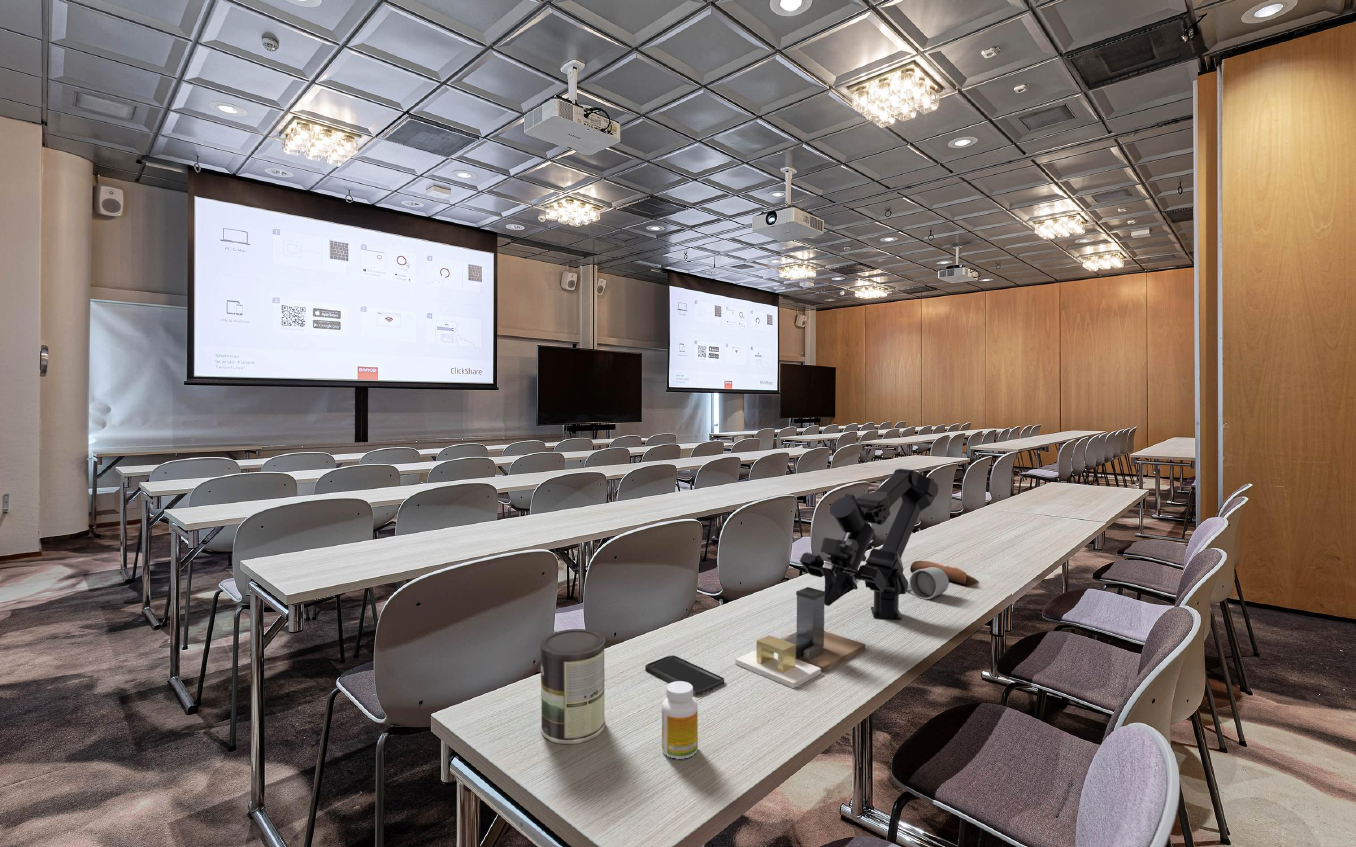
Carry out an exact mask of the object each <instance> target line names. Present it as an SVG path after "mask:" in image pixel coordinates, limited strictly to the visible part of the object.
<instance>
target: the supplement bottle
mask: <svg viewBox="0 0 1356 847" xmlns="http://www.w3.org/2000/svg"><path fill="white" fill-rule="evenodd" d="M665 689H666V691H665V695H666V698H665V699H664V700H663V701H662V704H661V750H662V753H663V754H664V756H666V755H667V756H666V757H668V756H669V757H668V758H670V757H671V758H670V759H672V758H676V759H675V760H678V759H683V760H685V759H684V758H688V759H689V757H690V758H692V757H694V756H695V755H696V754H697V752H698V747H699V746H698V745H699V744H698V743H699V742H698V740H699V738H698V736H699V735H698V731H699V730H698V725H699V724H698V721H699V720H698V718H699V716H698V715H699V714H698V712H699V711H698V710H699V709H698V702H697V701H696V699H695V698H694V695H693V686H692V685H691V684H690V683H688V682H684V681H676V682H672V683H668V684H667V685H666V688H665ZM695 753H696V754H695ZM694 754H695V755H694ZM691 756H692V757H691Z"/></svg>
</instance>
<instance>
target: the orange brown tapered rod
mask: <svg viewBox="0 0 1356 847" xmlns="http://www.w3.org/2000/svg"><path fill="white" fill-rule="evenodd" d="M929 567H935V568H939V569H941V570H943V571H944V572H945V573H946V575H947V577H948V580H949V581H951V582H954V583H959V584H962V585H965V586H966V587H967V588H968V587H971V586H973V585H976V584H979V583H981V581H979V579H976V577H973V576H971V575H969V574H967V573H966V572H965V571H964V570H962V569H961V568H959V567H952V566H949V565H943V564H939V563H936V562H933V561H929V560H928V561H927V560H916V561H913V562H912V563H911V565H910V567H909V568H910V569H909V571H910V572H911V573H913V572H915V571H916V570H919V569H925V568H929Z"/></svg>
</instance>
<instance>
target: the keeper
mask: <svg viewBox="0 0 1356 847" xmlns="http://www.w3.org/2000/svg"><path fill="white" fill-rule="evenodd" d="M755 647H756V649H755V650H756V662H757V663H760V664H763V663H765V662H767V661H769V660H771V659H773V658H774V652H775V653H777V654H778V671H780V672H782V673H784V672H786V671H788V670H790V669H792V668H793V667H795V666H796V644H793V643H790V642H787V641H784V640H782V638H778V637H775V636H774V635H770V634H769V635H766V636H764V637H761V638H759V639H757V640H756V646H755Z"/></svg>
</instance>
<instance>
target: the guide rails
mask: <svg viewBox="0 0 1356 847" xmlns="http://www.w3.org/2000/svg"><path fill="white" fill-rule="evenodd" d="M793 637H795V635H793V636H791V637H788V638H786V639H784V641H786V640H789V639H791V638H793ZM822 654H823V645H821V644H816V645H814V646H812V647H810V648H808V649H806V650H804V660H807V661H810V660H812V659H814V658H816V657H818V656H820V655H822Z"/></svg>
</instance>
